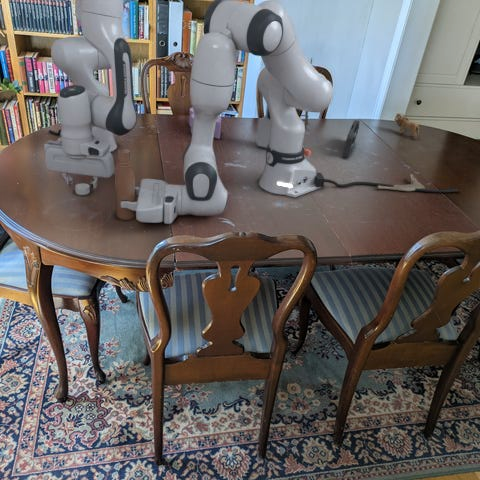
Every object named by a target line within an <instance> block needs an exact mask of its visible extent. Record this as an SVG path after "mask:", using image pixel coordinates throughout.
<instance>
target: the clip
mask: <svg viewBox="0 0 480 480" xmlns="http://www.w3.org/2000/svg"><path fill="white" fill-rule="evenodd" d="M188 119H189V120H188V121H189V122H188V125H189V127H190V134H192V130H193V122H194V109H193V107H192V106H191V107H190V108H189V118H188ZM221 131H222V116H221V115H220V114H219V115H218V117H217V120H216V125H215V131H214V138H213V139H218V140H219V139H221Z"/></svg>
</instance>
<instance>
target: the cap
mask: <svg viewBox="0 0 480 480" xmlns="http://www.w3.org/2000/svg"><path fill="white" fill-rule="evenodd" d="M74 190H75V191H74V192H75V194H77V195H79V196H85V195H88V194H90V193H91V187H90V184H88V183H84V182H83V183H78V184H75V186H74Z"/></svg>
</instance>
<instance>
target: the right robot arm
mask: <svg viewBox="0 0 480 480" xmlns="http://www.w3.org/2000/svg"><path fill="white" fill-rule="evenodd" d="M203 17H204V18H203V29H202V31H203V35H202V36H200V37H199V39H198V41H197V44H196V47H195V51H194V55H193V59H192V65H191V70H190V71H191V72H190V81H189V97H190V105H191V108H192V107H193V109H194V122H193V130H192V133H191V138H190V141H189V143H188V145H187V147H186V148H185V150H184V152H183V155H182V165H183V180H184V183H185V184H172V183H171V184H170V183H168V182H166V181H165V180H162V179H155V178H143V179H141V180H140V184H139V186H135V196H138V197H137V201H135V202H133V203H132V202H128V200H121V208H128V209H131V210H133V211H136V216H135V219H136V220H137V221H138V222H140V223H149V224H151V223H153V224H157V223H158V224H159V223H162V222H163V224H165V225H171V224H172V223H173V222H174V220H176V218H177V217H178V216H185V215H192V216H194V217H195V216H197V217H213V216H218V215H219V216H220V215H221V214H223V213H224V211H226V208H227V204H228V199H229V192H228V190H227V189H226V187H225V186H224V184H223V182H222V180H221V177H220V174H219V172H218V166H217V155H216V150H215V148H214V139H215V138H214V131H215V125H216V120H217V117H218V115H219V116H220V115H221V114H223V113H225V112H226V111H227V110H228V108H229V106H230V102H231V99H232V96H233V92H234V86H235V80H236V79H235V78H236V72H237V71H236V70H237V59H238V57H239V55H240V54H241V52H243V53H248V54H252V55H253V56H256V57H261V60H262V62H263V65H264V67H263V68H262V69H261V70H260V72H259V73H258V77H257V82H256V83H257V84H256V85H257V89H258V92H259V93H260V95H261V96H262V98H263V99H264V101H265V103H266V107H267V106H268V109H269V113H270V119H271V129H270V139H269V144H268V145H267V149H266V152H265V164H264V167H263V171H262V174H261V177H260V178H259V181H258V185H259V186H260V188H262V189H263V190H264V191H266V192H269V193H272V194H275V195H280V196H281V195H282V196H287V197H290V198H297V197H300V196H303V195H305V194H308V193H310V192H313V191H316V190H318V189H322V188H324V187H325V186H324V185H325V183H327V184H328V183H329V184H332V185H334V186H336V187H338V188H348V187H351V186H356V185H357V186H358V185H361V186H373V187H377V186H378V185H380V186H387V187H393V186H394V185H395V184H388V183H380V182H372V181H353V182H347V183H345V184H342V183H338V182H336V181H335V180H332V179H328V178H325V177H324V175H323V174H322V172H317V169H316V167H315V166H314V165H313V164H312V163H311V162H310V161H308V159H306V158H305V156H306V157H310V156H311V154H312V151H311V150H309V149H308V148H304V147H303V145H304V139H305V132H306V129H305V122H304V121H302V120H303V119H302V118H301V117H300V115H298V114H299V113H298V112H297V110H300V111H302V112H306V111H307V112H308V113H322V112H324V111H325V110H327V109H328V107H329V106H330V105H331V103H332V100H333V98H334V88H333V85H332V82H331V81H329V80H328V79H327V78H326V77H325V76H323V75H321V73H320V72H319V71H318V70H317V69H316V68H315V66H313V64H311V61H310V60H309V59H308V58H307V57H306V55H305V54H304V52H303V50H302V46H301V44H300V42H299V39H298V36H297V33H296V30H295V27H294V25H293V22H292V20H291V17H290V15H289V14H288V12H287V10H286V9H285V7H284V6H283V4H282V3H280V2H279V1H277V0H264V1H262V2H260V3H258V4H257V5H256V4H254V3H250V2H247V1H241V0H213V1H211V2H210V4H209V5H208V7H207V9H206V11H205V14H204V16H203ZM295 108H296V109H295ZM415 189H416V190H415V191H414V192H423V193H436V194H439V193H440V194H447V193H449V194H450V193H459V192H460V189H457V188H456V189H431V188H430V189H429V188H424V189H419V188H415Z"/></svg>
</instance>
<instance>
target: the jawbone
mask: <svg viewBox="0 0 480 480" xmlns="http://www.w3.org/2000/svg"><path fill="white" fill-rule="evenodd" d="M409 179H410V184H409V183H408V184H393V185H394V186H393V187H387V186H380V185H378V186H376V188H377V189H380V190H391V191H400V192H409V193H410V192H416V191H415V190H416V189H415V188H419V189H426V187H425V185H424V184H422V183H421V182H419V181H418V179H417V177H415V176H414V174H413V173H410V174H409Z"/></svg>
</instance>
